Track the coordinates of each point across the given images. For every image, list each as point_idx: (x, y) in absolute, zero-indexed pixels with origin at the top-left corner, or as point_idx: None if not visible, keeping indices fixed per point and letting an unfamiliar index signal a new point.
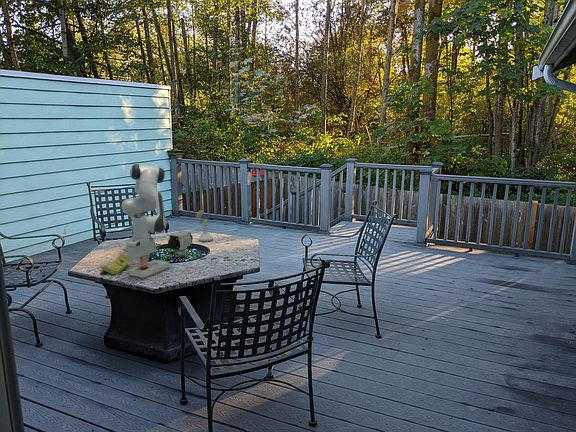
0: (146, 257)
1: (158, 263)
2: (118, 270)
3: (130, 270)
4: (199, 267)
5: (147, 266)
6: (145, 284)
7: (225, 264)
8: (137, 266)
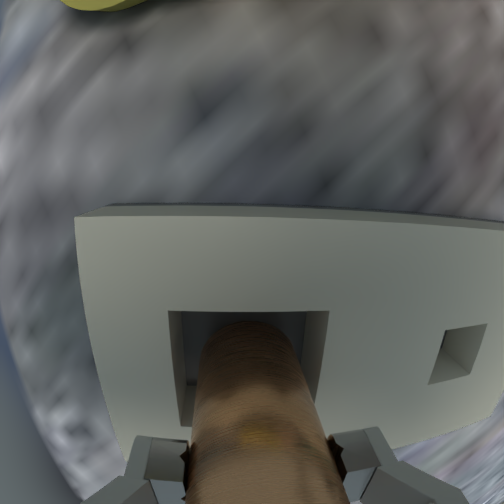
0: (384, 494)
1: (465, 376)
2: (109, 6)
3: (79, 261)
4: (465, 475)
5: (344, 365)
6: (83, 464)
7: (487, 492)
8: (289, 217)
